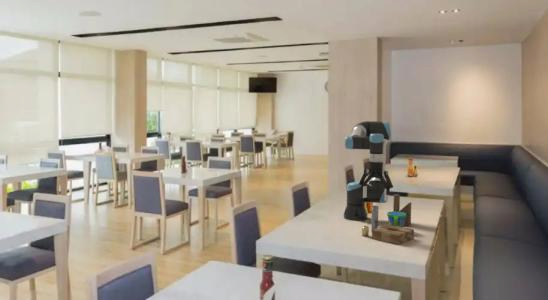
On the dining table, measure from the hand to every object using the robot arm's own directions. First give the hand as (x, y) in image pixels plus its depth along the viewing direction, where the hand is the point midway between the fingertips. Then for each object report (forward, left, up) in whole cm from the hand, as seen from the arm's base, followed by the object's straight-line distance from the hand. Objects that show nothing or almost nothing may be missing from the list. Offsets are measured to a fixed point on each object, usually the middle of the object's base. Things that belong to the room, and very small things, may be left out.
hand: (375, 199), depth 252 cm
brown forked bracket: (-28, +2, -19) cm, 34 cm away
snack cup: (-12, +7, -19) cm, 24 cm away
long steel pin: (0, 0, -19) cm, 19 cm away
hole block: (+5, +14, -19) cm, 24 cm away
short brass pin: (+10, 0, -19) cm, 21 cm away
